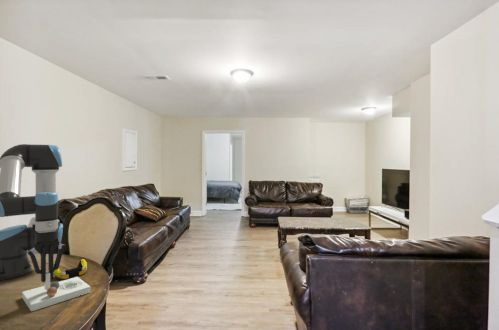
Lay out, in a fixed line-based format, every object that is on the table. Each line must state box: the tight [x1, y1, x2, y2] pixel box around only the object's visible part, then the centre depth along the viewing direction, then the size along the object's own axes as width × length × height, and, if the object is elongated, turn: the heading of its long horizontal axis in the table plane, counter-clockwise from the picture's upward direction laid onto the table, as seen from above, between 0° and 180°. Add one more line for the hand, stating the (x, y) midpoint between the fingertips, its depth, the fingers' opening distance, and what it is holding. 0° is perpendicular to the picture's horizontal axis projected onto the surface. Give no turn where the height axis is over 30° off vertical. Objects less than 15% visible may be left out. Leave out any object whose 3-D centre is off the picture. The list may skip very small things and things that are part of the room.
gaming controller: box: [53, 258, 88, 280], centre depth 136 cm, size 15×6×10 cm
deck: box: [21, 276, 92, 312], centre depth 115 cm, size 16×20×2 cm
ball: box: [50, 280, 59, 289], centre depth 114 cm, size 3×3×3 cm
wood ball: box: [47, 287, 57, 296], centre depth 109 cm, size 3×3×3 cm
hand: (47, 288), depth 112 cm, fingers closed
